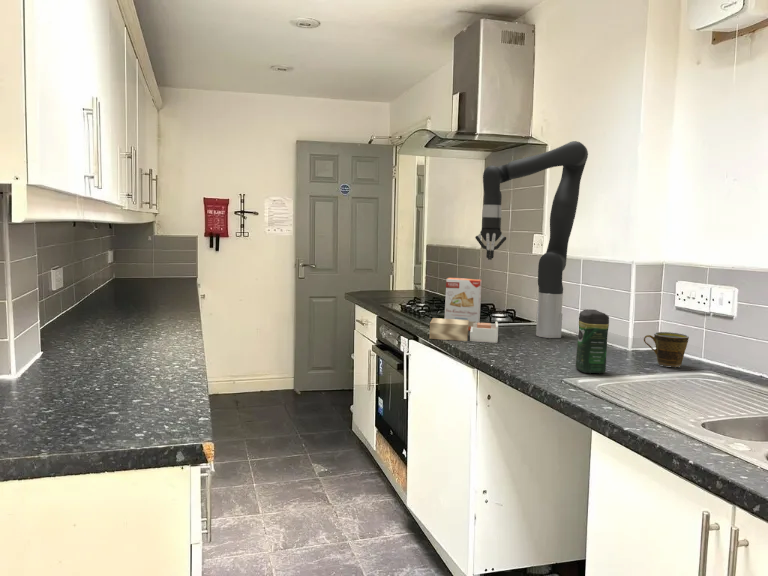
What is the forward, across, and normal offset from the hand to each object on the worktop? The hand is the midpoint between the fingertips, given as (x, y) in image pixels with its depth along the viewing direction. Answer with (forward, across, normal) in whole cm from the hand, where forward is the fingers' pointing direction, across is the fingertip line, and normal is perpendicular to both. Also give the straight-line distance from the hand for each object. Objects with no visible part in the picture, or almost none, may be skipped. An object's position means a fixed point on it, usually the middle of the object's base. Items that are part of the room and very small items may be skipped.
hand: (489, 259), depth 247 cm
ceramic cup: (+29, -56, +47) cm, 79 cm away
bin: (+29, +1, +20) cm, 35 cm away
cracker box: (+29, +10, +1) cm, 31 cm away
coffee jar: (+29, -31, +62) cm, 75 cm away
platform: (+29, +14, +20) cm, 38 cm away
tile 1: (+26, +1, +20) cm, 33 cm away
